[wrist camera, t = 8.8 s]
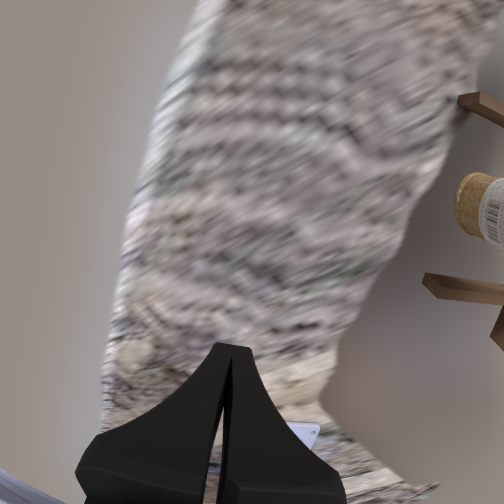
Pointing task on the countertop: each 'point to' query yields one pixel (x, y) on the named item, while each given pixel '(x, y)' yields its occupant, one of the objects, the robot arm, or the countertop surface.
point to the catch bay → (469, 288)
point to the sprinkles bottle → (481, 207)
